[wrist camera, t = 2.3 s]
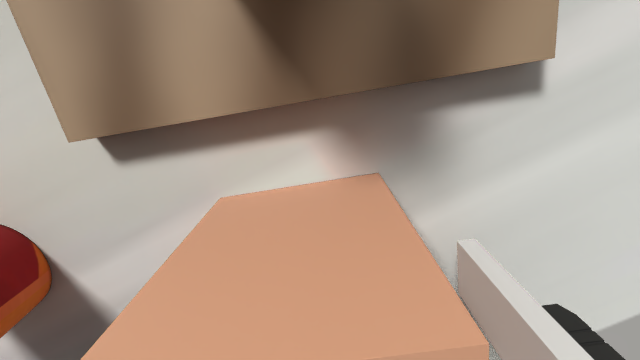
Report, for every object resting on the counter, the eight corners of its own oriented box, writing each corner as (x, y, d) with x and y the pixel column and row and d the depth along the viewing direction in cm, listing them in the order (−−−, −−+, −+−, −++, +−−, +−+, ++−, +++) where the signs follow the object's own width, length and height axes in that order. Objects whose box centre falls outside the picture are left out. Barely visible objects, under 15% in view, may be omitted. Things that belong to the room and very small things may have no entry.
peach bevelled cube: (256, 323, 17) (180, 613, 8) (220, 198, 15) (45, 400, 5) (393, 304, 17) (486, 586, 7) (378, 172, 15) (489, 343, 5)
